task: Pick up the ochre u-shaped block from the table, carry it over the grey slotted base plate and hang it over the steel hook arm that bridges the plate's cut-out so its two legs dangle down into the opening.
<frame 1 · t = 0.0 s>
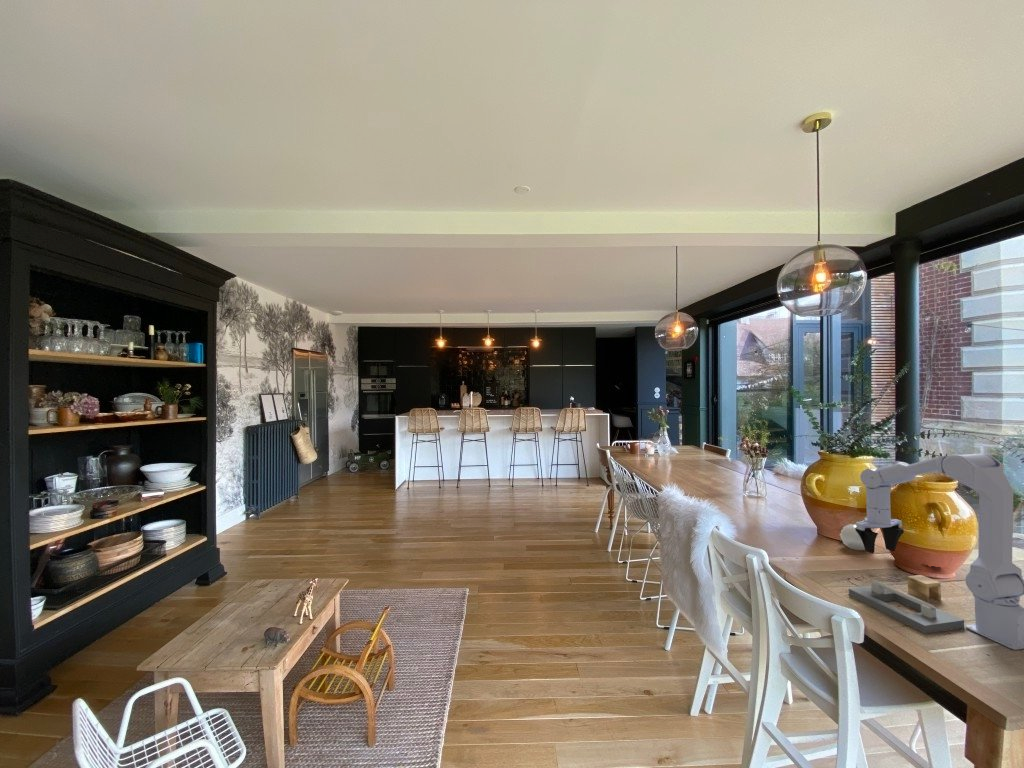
hand: (880, 551, 131), 10 cm above the table, tool pointing down, fingers open, 7 cm apart
grey slotted base plate: (902, 610, 116), on the table
white egg shape: (853, 547, 161), on the table
ochre u-shaped block: (924, 596, 123), on the table
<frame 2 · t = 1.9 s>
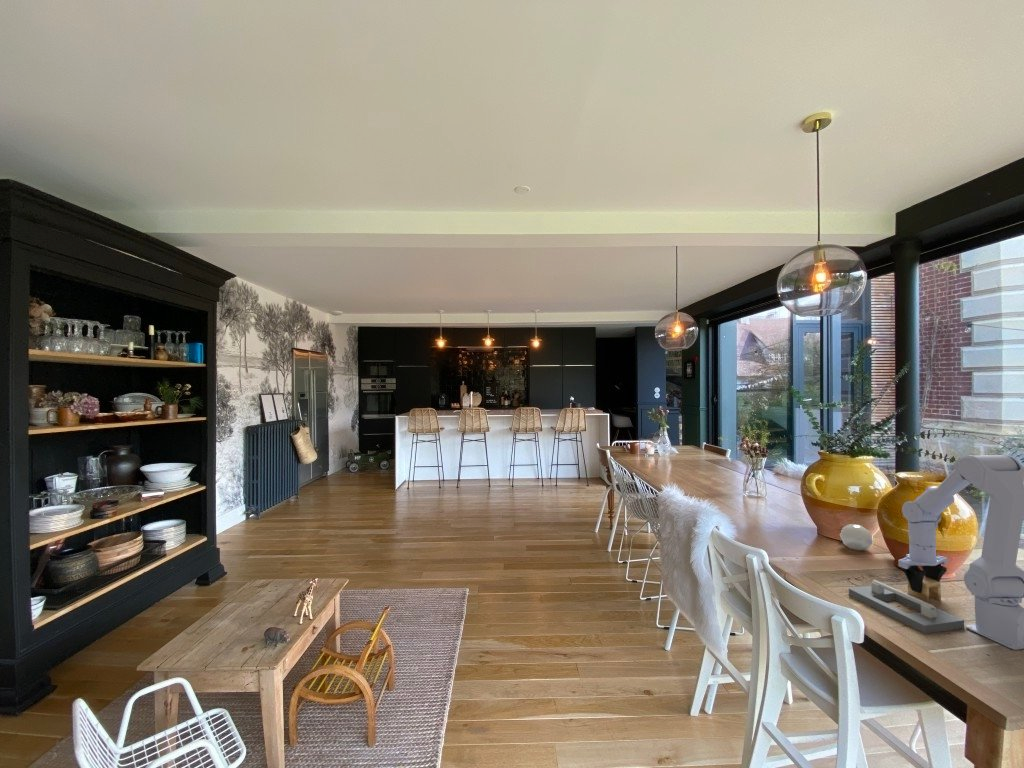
hand: (924, 590, 123), 2 cm above the table, tool pointing down, fingers closed on ochre u-shaped block, 5 cm apart
ochre u-shaped block: (924, 596, 123), on the table, touching gripper
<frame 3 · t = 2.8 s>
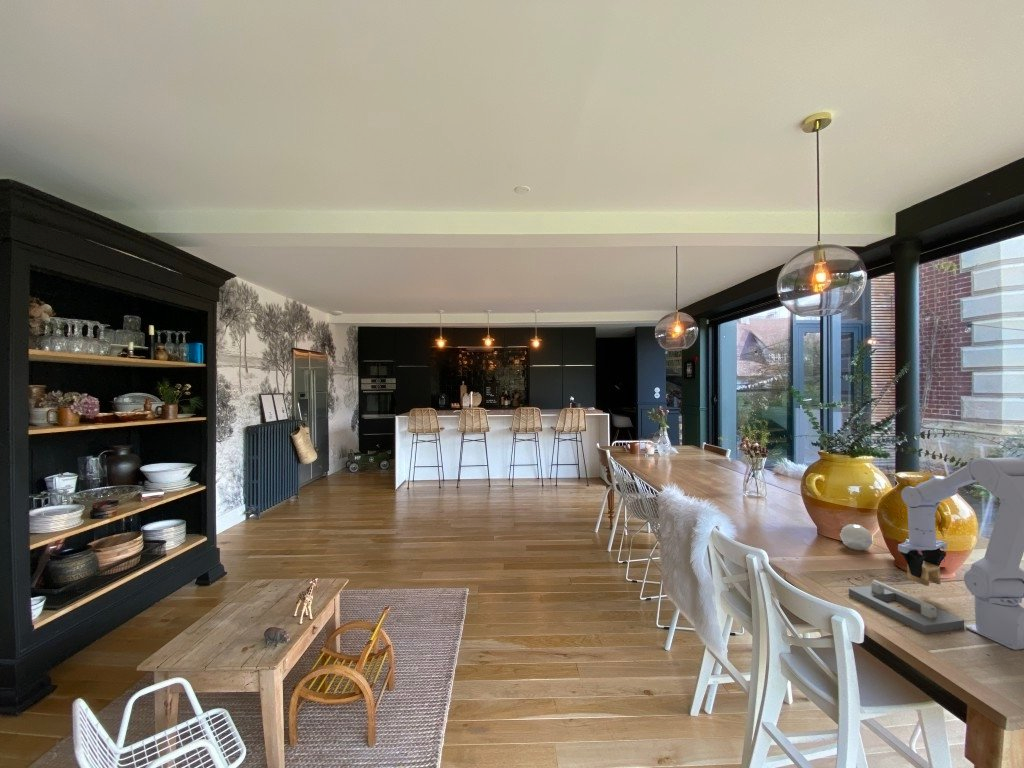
hand: (923, 575, 123), 6 cm above the table, tool pointing down, fingers closed on ochre u-shaped block, 5 cm apart
ochre u-shaped block: (923, 581, 123), point 4 cm above the table, touching gripper
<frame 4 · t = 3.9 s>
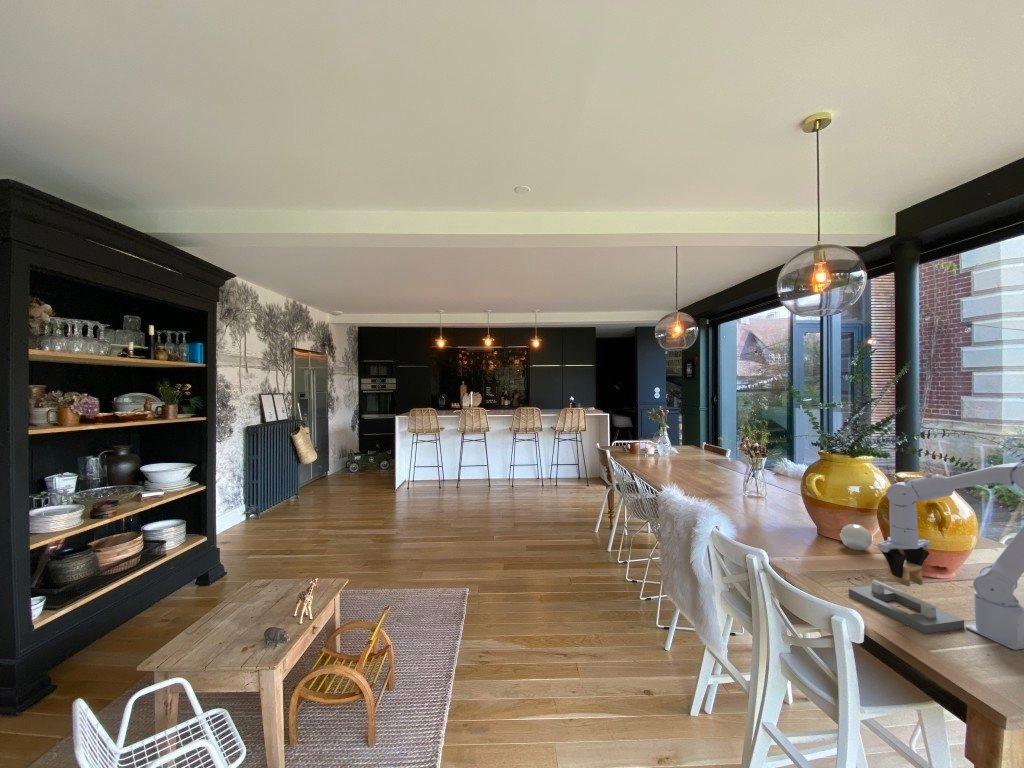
hand: (905, 575, 117), 9 cm above the table, tool pointing down, fingers closed on ochre u-shaped block, 5 cm apart
ochre u-shaped block: (905, 581, 117), point 7 cm above the table, touching gripper
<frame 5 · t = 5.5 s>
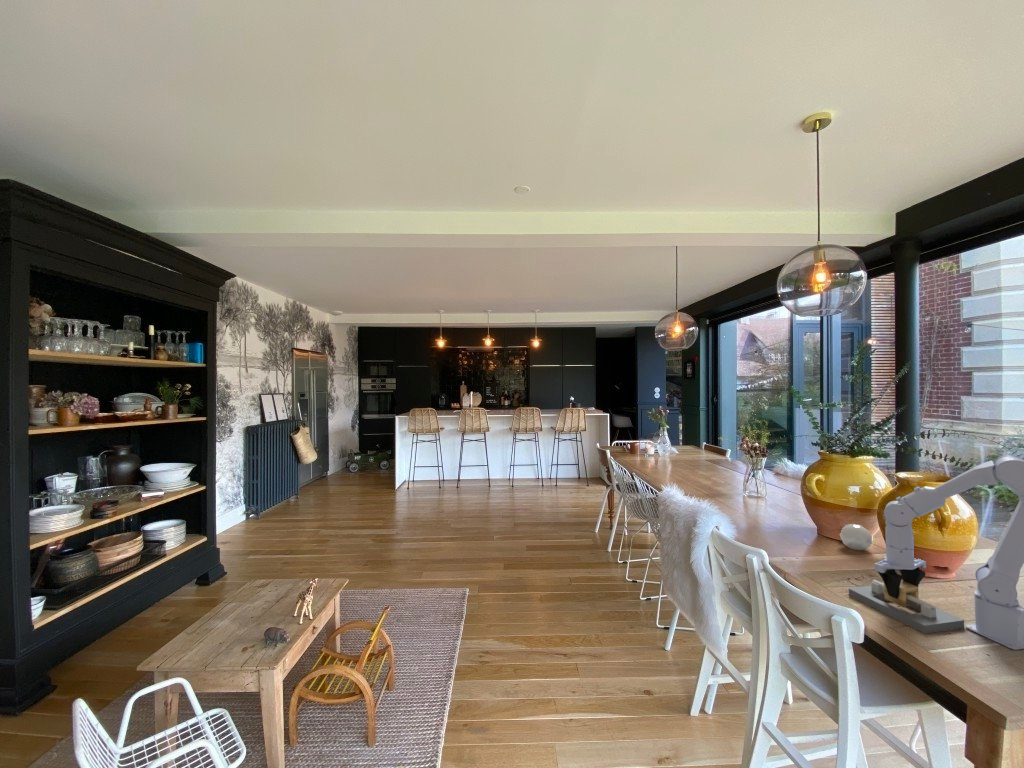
hand: (901, 595, 116), 4 cm above the table, tool pointing down, fingers closed on ochre u-shaped block, 5 cm apart
ochre u-shaped block: (901, 602, 116), point 2 cm above the table, touching gripper
when the fingers open (4 cm above the table, at t = 6.2 s): ochre u-shaped block stays where it is, resting on grey slotted base plate.
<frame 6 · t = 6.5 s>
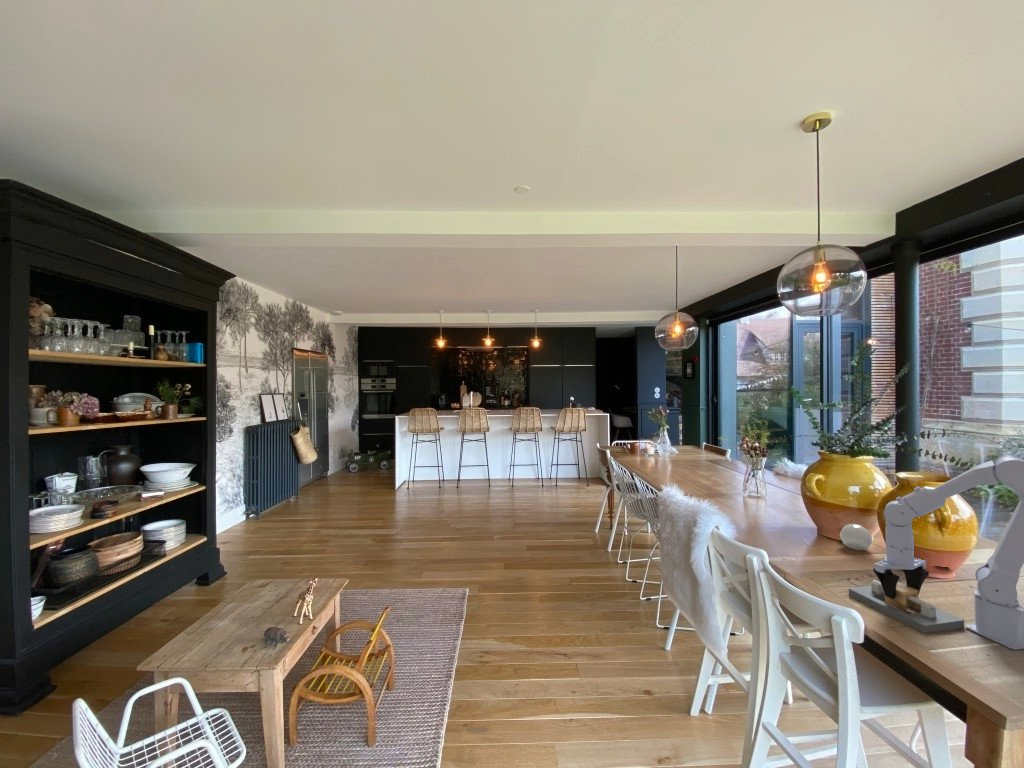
hand: (901, 595, 116), 4 cm above the table, tool pointing down, fingers open, 7 cm apart
ochre u-shaped block: (901, 605, 116), point 1 cm above the table, touching grey slotted base plate
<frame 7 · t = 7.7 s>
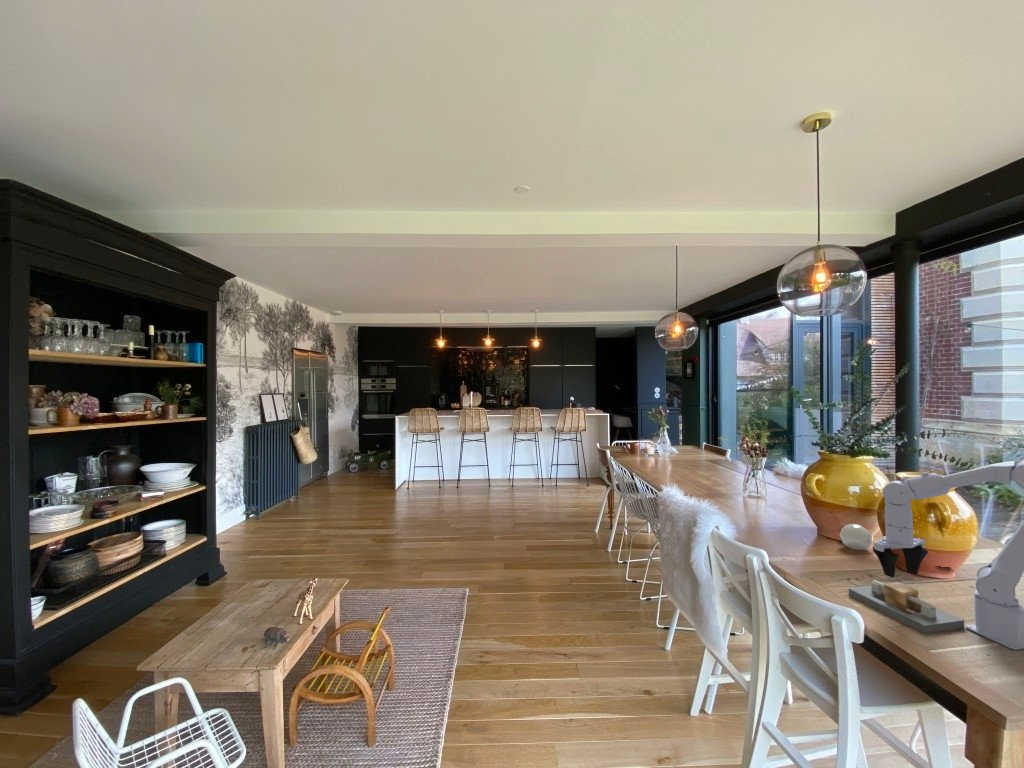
hand: (900, 574, 117), 9 cm above the table, tool pointing down, fingers open, 7 cm apart
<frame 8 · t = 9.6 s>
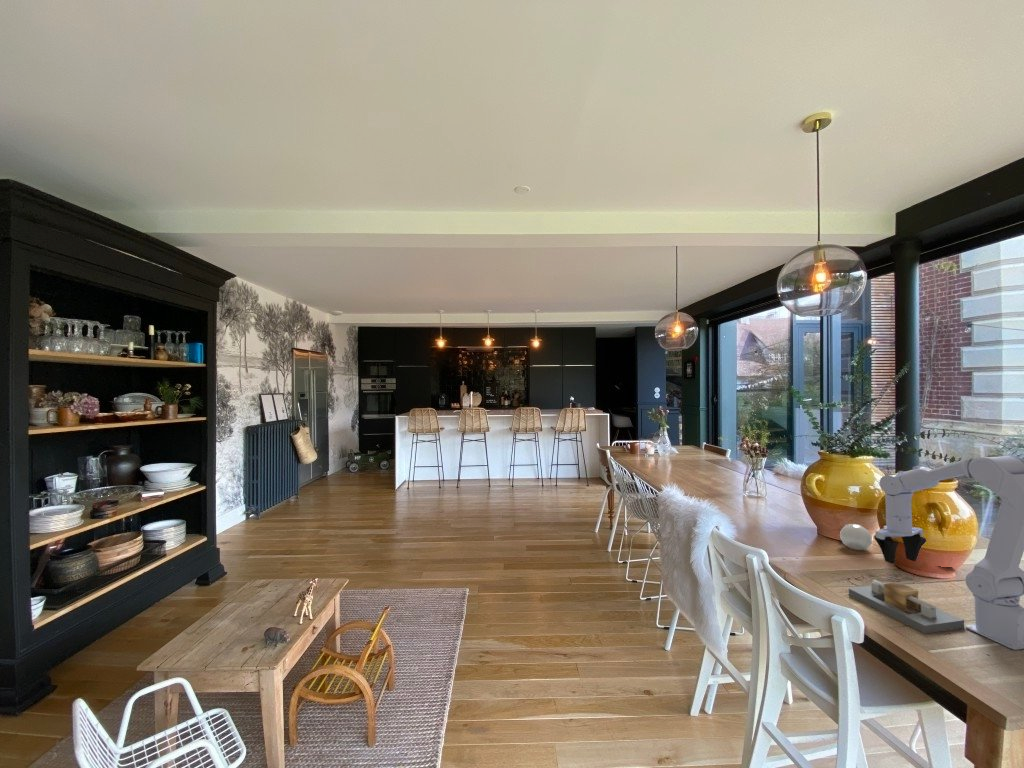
hand: (900, 561, 125), 9 cm above the table, tool pointing down, fingers open, 7 cm apart
at the end: ochre u-shaped block 0.1 cm off-centre on the grey slotted base plate, point 1.3 cm above the grey slotted base plate's base; ochre u-shaped block touching grey slotted base plate; the gripper is holding nothing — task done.
